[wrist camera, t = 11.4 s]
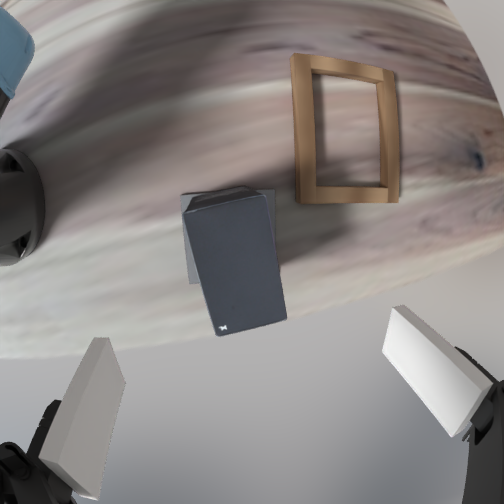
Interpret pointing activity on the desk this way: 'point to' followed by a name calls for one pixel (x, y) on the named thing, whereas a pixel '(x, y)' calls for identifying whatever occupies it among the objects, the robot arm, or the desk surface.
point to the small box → (235, 259)
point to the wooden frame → (306, 131)
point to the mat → (190, 263)
